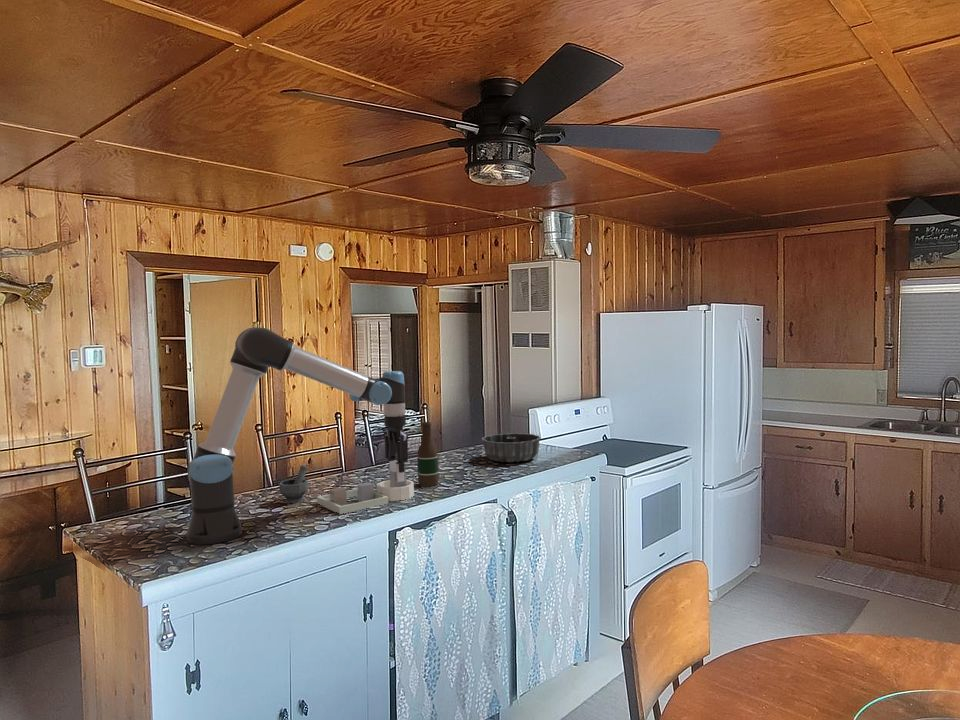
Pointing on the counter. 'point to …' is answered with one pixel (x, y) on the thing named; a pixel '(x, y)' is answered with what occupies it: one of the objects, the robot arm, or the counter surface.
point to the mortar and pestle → (295, 487)
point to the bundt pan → (511, 447)
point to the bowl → (396, 490)
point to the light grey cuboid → (365, 491)
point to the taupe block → (338, 496)
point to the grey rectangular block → (394, 479)
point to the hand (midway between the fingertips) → (397, 480)
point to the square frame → (377, 501)
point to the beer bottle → (427, 458)
